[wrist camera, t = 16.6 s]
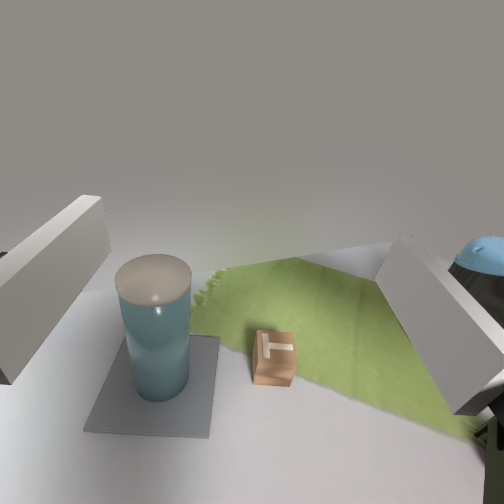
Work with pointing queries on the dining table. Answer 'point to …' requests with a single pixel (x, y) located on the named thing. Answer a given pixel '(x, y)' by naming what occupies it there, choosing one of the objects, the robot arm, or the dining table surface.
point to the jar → (156, 323)
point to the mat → (158, 413)
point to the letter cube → (273, 358)
